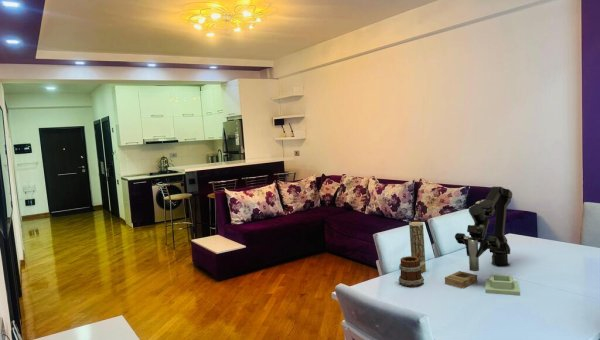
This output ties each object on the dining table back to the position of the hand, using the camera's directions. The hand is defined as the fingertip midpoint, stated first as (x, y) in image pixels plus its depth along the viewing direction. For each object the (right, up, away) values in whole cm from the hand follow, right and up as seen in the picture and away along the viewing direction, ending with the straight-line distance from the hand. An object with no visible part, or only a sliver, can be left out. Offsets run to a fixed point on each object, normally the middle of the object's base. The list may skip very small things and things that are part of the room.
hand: (472, 256), depth 184 cm
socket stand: (+11, -13, -5) cm, 18 cm away
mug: (-24, -15, +12) cm, 30 cm away
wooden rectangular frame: (-3, -13, +6) cm, 15 cm away
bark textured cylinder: (-17, -13, +26) cm, 33 cm away
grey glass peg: (+1, -6, +1) cm, 7 cm away
